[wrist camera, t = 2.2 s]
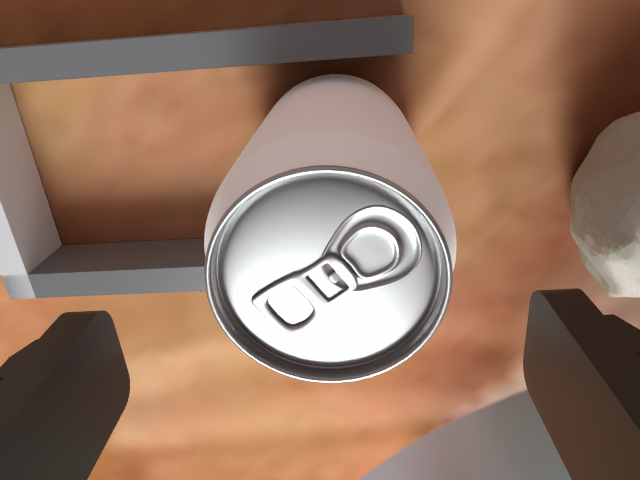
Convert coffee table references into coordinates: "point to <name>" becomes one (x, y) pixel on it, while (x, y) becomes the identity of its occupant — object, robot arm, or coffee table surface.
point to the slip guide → (136, 58)
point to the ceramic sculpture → (610, 208)
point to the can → (330, 237)
